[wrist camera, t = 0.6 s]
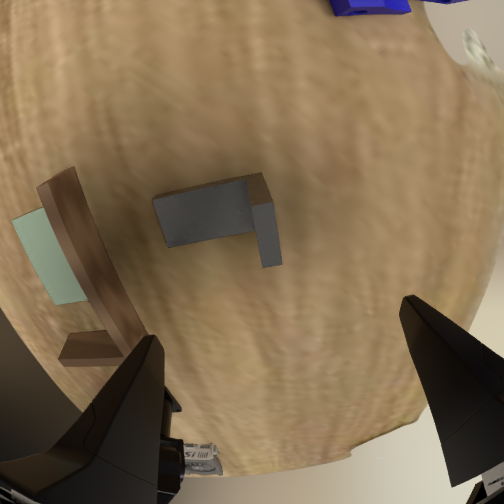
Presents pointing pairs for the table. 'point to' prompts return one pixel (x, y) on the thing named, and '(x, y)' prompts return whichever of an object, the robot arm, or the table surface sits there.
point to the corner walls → (90, 277)
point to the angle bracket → (221, 214)
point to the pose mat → (48, 257)
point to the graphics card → (202, 459)
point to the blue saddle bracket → (376, 6)
